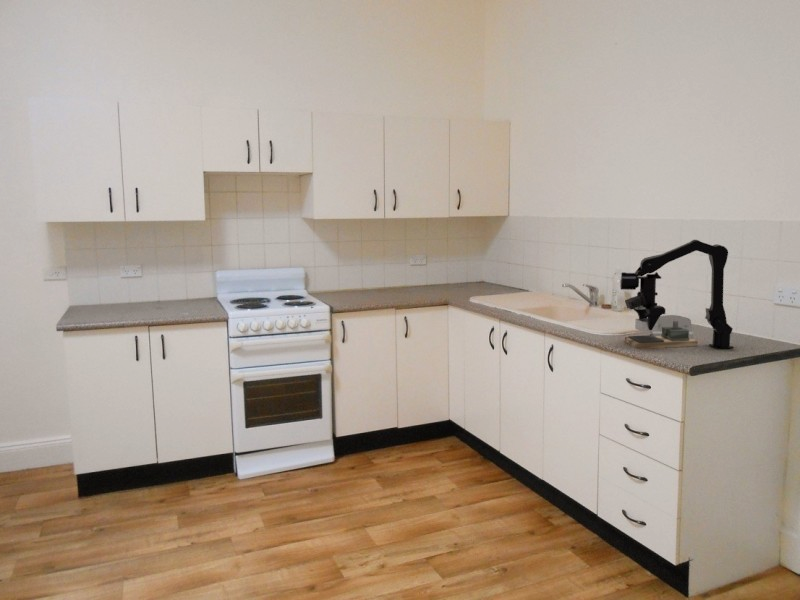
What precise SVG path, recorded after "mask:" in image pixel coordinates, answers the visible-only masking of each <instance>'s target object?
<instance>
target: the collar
mask: <svg viewBox="0 0 800 600" xmlns="http://www.w3.org/2000/svg"><path fill="white" fill-rule="evenodd" d="M634 329H635V330H638V331H640V332H642V333H643V332H644V333H645V332H647V333H648V332H651V331H658V321H657V322H656V324H655V326H654V327H653V329H652V330H649V326H648V317H647V318H643V319H639V318H635V325H634Z"/></svg>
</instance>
